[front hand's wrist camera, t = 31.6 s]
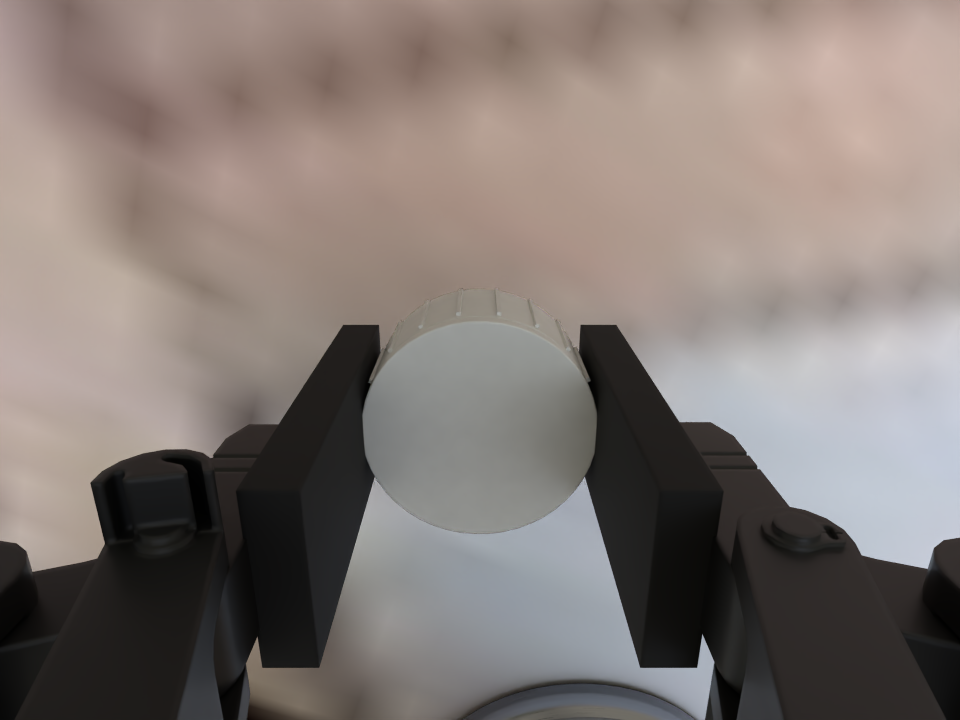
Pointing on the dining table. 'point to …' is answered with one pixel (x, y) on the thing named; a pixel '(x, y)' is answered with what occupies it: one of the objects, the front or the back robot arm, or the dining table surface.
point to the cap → (479, 413)
